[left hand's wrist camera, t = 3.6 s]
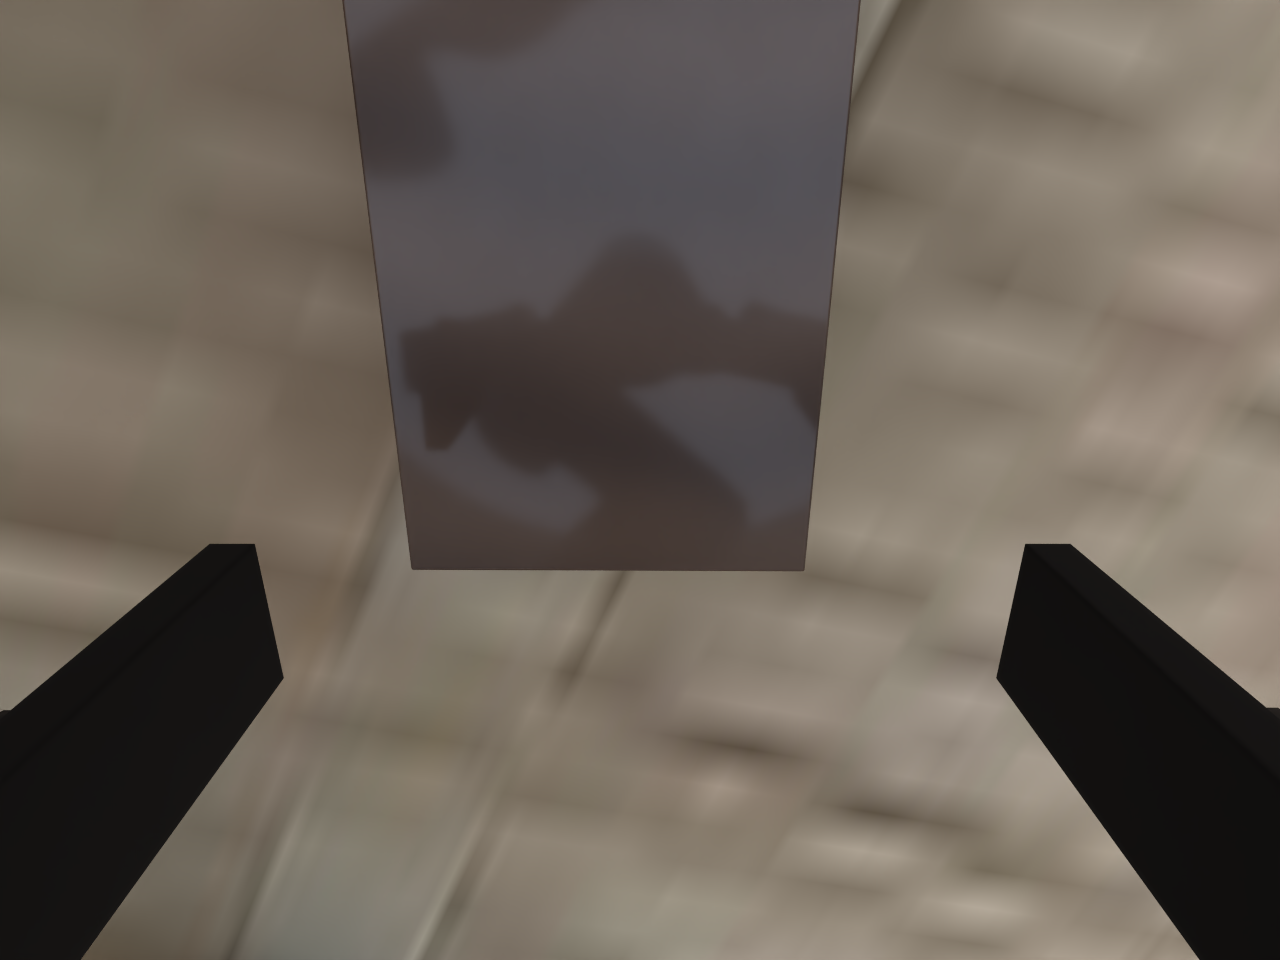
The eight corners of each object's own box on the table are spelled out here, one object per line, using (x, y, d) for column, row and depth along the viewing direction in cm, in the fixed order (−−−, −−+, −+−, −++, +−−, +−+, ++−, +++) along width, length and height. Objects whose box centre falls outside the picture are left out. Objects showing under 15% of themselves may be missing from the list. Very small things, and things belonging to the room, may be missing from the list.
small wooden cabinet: (449, -185, 23) (277, -522, 12) (782, -182, 23) (913, -516, 12) (492, 432, 31) (410, 570, 20) (744, 433, 31) (804, 571, 20)
